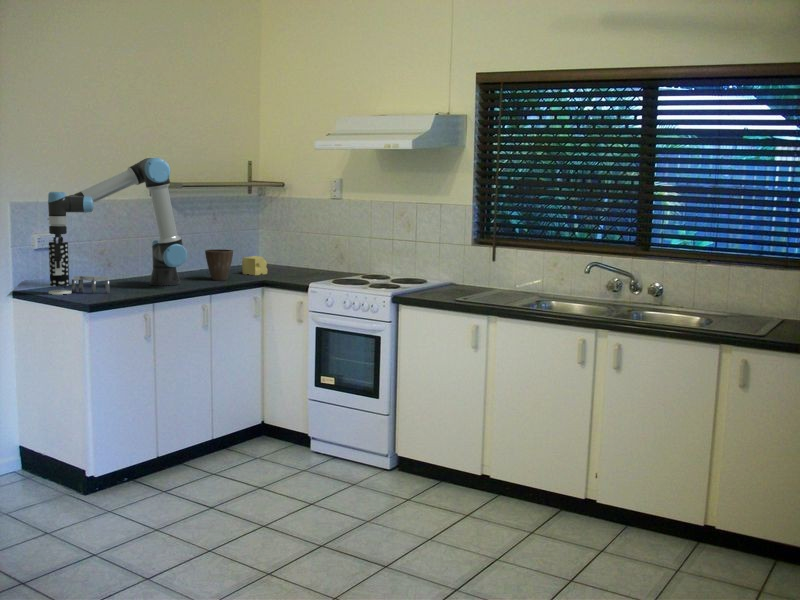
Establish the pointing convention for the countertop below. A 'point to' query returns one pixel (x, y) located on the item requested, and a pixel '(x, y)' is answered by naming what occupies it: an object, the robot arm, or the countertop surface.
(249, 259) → the cheese
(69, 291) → the coaster
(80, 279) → the small grey table
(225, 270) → the plant pot
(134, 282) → the countertop surface
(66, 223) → the robot arm
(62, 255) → the spotted tube
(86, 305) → the countertop surface
